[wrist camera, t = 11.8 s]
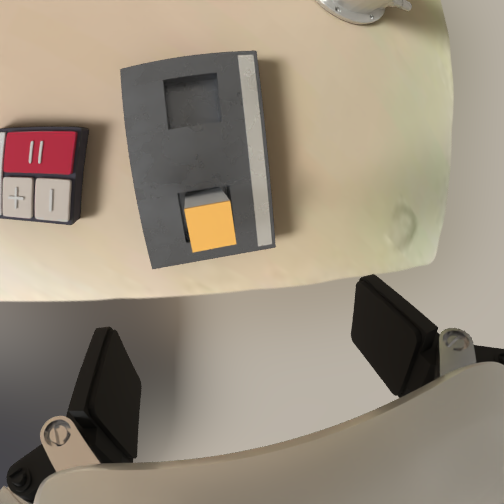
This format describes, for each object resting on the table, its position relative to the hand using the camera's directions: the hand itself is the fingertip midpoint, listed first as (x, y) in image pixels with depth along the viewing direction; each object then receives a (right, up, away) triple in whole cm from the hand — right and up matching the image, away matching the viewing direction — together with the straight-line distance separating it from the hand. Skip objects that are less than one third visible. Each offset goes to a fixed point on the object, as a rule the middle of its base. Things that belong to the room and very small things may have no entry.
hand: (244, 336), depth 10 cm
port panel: (-6, +14, +20) cm, 25 cm away
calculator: (-26, +13, +16) cm, 34 cm away
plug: (-5, +8, +22) cm, 24 cm away
